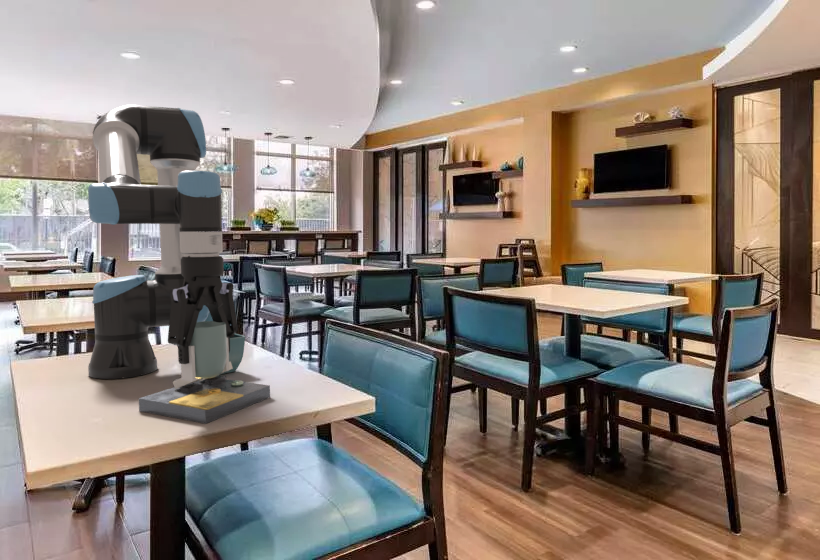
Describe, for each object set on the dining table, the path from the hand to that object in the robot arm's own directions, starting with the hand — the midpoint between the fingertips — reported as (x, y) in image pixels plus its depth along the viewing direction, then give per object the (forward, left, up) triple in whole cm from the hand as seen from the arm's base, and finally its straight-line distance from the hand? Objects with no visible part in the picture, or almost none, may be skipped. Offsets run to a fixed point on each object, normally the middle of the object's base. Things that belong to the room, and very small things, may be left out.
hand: (206, 375), depth 110 cm
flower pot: (-20, +25, -8) cm, 33 cm away
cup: (0, 0, 0) cm, 0 cm away
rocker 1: (-8, +4, -3) cm, 9 cm away
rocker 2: (-8, +11, -3) cm, 14 cm away
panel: (-4, +4, -7) cm, 9 cm away
